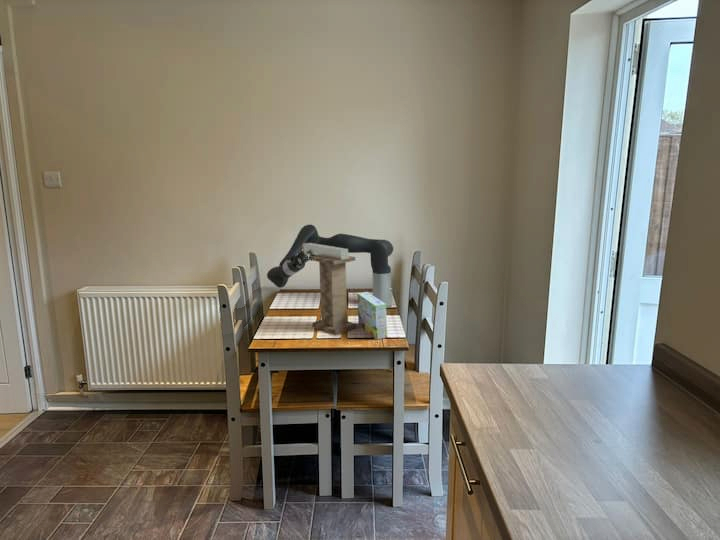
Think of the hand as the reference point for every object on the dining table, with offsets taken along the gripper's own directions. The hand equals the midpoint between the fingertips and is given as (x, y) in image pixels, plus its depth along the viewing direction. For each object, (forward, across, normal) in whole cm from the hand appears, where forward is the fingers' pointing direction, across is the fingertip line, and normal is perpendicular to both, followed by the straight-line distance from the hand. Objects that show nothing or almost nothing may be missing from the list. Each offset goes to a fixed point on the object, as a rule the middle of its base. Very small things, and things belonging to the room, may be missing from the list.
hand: (311, 251), depth 217 cm
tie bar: (+8, 0, +5) cm, 9 cm away
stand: (-4, 0, +35) cm, 36 cm away
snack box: (+9, +8, +44) cm, 45 cm away
